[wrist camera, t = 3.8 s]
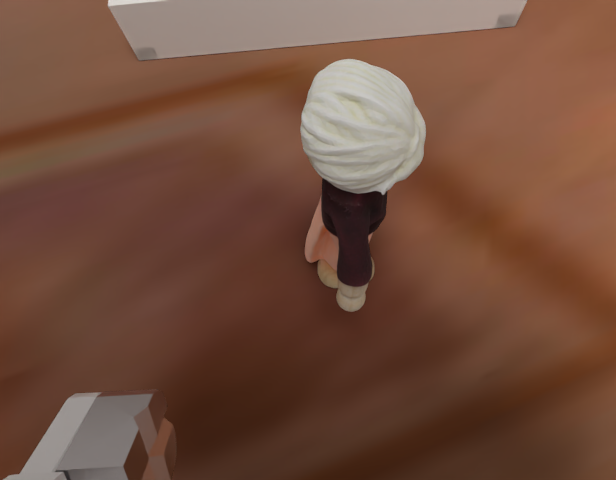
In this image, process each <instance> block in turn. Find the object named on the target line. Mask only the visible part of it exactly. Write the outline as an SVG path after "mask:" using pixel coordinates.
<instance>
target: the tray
mask: <svg viewBox="0 0 616 480" xmlns="http://www.w3.org/2000/svg"><path fill="white" fill-rule="evenodd" d="M526 2H527V0H109V2H108V7H109V9H110V10H111V12H112V14H113V16H114V17H115V19H116V21H117V23H118V24H119V26H120V28H121V30H122V31H123V33H124V35H125V37H126V39H127V40H128V42H129V44H130V46H131V47H132V49H133V51H134V53H135V54H136V56H137V58H138V60H139V61H141V60H152V59H163V58H174V57H185V56H196V55H207V54H218V53H229V52H240V51H250V50H261V49H272V48H283V47H294V46H305V45H316V44H327V43H338V42H349V41H360V40H371V39H382V38H393V37H404V36H415V35H426V34H437V33H448V32H459V31H470V30H481V29H492V28H503V27H514V26H515V25H516V23H517V21H518V19H519V17H520V15H521V13H522V10H523V8H524V6H525V4H526Z"/></svg>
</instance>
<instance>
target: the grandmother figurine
mask: <svg viewBox="0 0 616 480" xmlns="http://www.w3.org/2000/svg"><path fill="white" fill-rule="evenodd" d="M301 119H302V124H301V129H300V130H301V139H302V143H303V150H304V151H305V153H306V154H307V156H308V158H309V161H310V163H311V164H312V166H313V168H314V169H315V170H316V171H317V173H318V174H319V175H320V176H321V177H323V179H322V195H321V197H320V201H319V204H318V206H317V209H316V211H315V214H314V217H313V219H312V223H311V226H310V228H309V231H308V234H307V238H306V243H305V257H306V260H307V261H308V262H310V263H312V262H315V261H317V260H319V261H318V275H319V278H320V280H321V281H322V282H323V283H324V284H325V285H326V286H328V287H331V288H339V289H338V291H337V295H336V299H337V303H338V305H339V306H340V307H341V308H342V309H344V310H345V311H349V312H353V311H356V310H359V309H360V308H361V307H362V306H363V305H364V302H365V298H366V295H365V291H366V289H367V287H368V282H369V281H370V280H371V279H372V278H373V275H374V270H375V269H374V261H373V259H372V257H371V255H370V249H369V242H370V239H371V236H372V234H373V232H374V231H375V230H376V229H377V228H378V227H379V225H380V223H381V222H382V220H383V219H384V217H385V215H386V204H387V191H388V190H389V189H390V188H391V187H392V186H393V185H394V183H396V182H398V181H401V180H404V179H406V178H407V177H408V176H409V175H410V174H411V173H412V172H413V171H414V170H415V169H416V168H417V167H418V166H419V165H420V163H421V161H422V159H423V155H424V142H425V137H426V126H425V122H424V120H423V118H422V116H421V114H420V112H419V110H418V108H417V107H416V106H415V104H414V101H413V99H412V96H411V93H410V92H409V90H408V88H407V86H406V85H405V84H404V82H402V81H401V80H400V79H399V78H398V77H396V76H395V75H393V74H392V73H390V72H389V71H387V70H385V69H382V68H379V67H376V66H373V65H369V64H367V63H365V62H362V61H359V60H354V59H345V60H340V61H336V62H334V63H332V64H330V65H328V66H327V67H326V68H325V69H324V70H321V71H320V72H319V73H318V74H317V75H316V76H315V78H314V80H313V82H312V85H311V88H310V90H309V92H308V96H307V101H306V104H305V106H304V109H303V112H302V117H301Z"/></svg>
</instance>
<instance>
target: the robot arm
mask: <svg viewBox="0 0 616 480" xmlns="http://www.w3.org/2000/svg"><path fill="white" fill-rule="evenodd" d="M167 407H168V405H167V402H166V399H165V396H164V393H163V391H160V390H158V389H153V390H130V391H106V392H98V393H75V394H74V395H72V396H71V397H69V398H68V399H67V400H66V401H65V403H64V405H63V406H62V408H61V409H60V411H59V412H58V414H57V416H56V417H55V419H54V420H53V422H52V423H51V425H50V427H49V428H48V430H47V431H46V433H45V434H44V436H43V438H42V439H41V441H40V442H39V444H38V445H37V447H36V449H35V450H34V452H33V453H32V455H31V457H30V458H29V460H28V461H27V463H26V464H25V466H24V468H23V469H22V471H21V472H20V474H16V475H9V476H8V477H6V478H5V479H4V480H172V476H173V472H174V469H175V463H176V453H177V443H176V434H175V430H174V426H173V424H172V423H170V422H169V421H168V420H166V419H165V418H164V415H165V412H166V409H167Z"/></svg>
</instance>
